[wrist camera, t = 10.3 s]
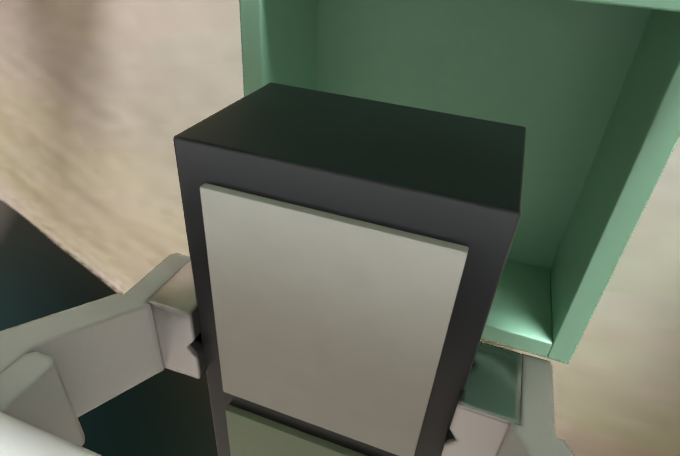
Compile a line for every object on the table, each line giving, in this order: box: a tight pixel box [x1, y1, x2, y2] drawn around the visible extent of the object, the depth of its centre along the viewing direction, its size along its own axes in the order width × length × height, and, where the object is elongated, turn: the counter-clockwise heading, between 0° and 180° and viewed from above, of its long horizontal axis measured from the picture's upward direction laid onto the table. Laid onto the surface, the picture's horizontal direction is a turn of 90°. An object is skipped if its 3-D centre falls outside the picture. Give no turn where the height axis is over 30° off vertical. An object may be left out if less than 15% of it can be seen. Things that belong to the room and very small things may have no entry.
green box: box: [239, 0, 680, 364], centre depth 18 cm, size 13×14×6 cm
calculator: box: [173, 83, 526, 456], centre depth 10 cm, size 8×5×3 cm, turn 177°
